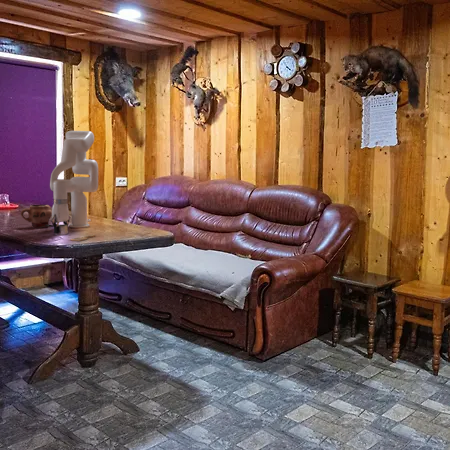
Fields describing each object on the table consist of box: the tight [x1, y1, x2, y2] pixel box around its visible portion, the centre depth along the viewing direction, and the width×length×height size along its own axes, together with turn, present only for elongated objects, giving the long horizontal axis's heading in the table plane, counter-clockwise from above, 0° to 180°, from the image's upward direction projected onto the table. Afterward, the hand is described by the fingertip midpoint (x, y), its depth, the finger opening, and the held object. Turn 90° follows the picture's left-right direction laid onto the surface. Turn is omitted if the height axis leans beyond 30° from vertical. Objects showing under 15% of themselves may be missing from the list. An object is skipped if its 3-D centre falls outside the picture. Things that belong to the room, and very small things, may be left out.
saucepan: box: [45, 224, 69, 236], centre depth 303 cm, size 15×8×5 cm, turn 70°
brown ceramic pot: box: [20, 204, 52, 229], centre depth 325 cm, size 20×12×14 cm, turn 133°
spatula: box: [69, 234, 96, 242], centre depth 288 cm, size 18×6×1 cm, turn 160°
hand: (61, 232), depth 302 cm, fingers closed on saucepan, 7 cm apart
